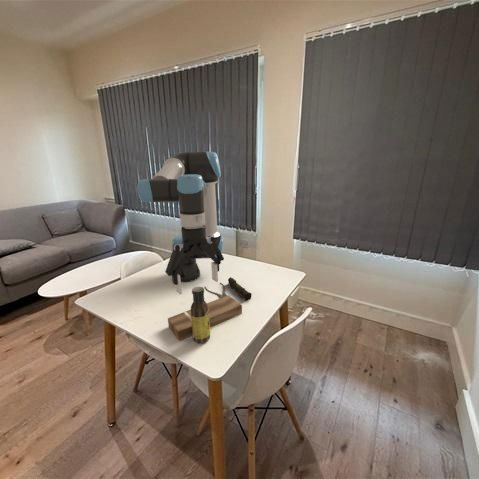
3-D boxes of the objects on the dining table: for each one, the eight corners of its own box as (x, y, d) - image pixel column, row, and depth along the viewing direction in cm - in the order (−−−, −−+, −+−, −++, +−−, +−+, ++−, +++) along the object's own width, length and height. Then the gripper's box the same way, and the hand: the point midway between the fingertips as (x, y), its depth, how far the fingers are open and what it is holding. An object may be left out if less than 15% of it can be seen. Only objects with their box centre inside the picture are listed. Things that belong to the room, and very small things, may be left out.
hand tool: (252, 299, 120) (252, 290, 118) (244, 302, 118) (244, 293, 117) (233, 283, 136) (233, 275, 134) (226, 284, 134) (226, 276, 133)
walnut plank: (168, 327, 101) (167, 318, 100) (228, 303, 117) (228, 295, 116) (179, 341, 94) (178, 331, 92) (242, 313, 109) (241, 304, 108)
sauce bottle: (213, 340, 94) (210, 291, 87) (196, 346, 91) (192, 295, 85) (207, 330, 99) (203, 283, 93) (190, 335, 96) (186, 287, 90)
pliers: (218, 281, 137) (243, 295, 122) (218, 282, 137) (243, 297, 122) (202, 287, 131) (226, 303, 116) (202, 288, 131) (226, 305, 116)
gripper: (158, 236, 72) (166, 303, 79) (232, 221, 86) (234, 279, 93) (149, 230, 78) (157, 293, 84) (220, 217, 92) (222, 272, 98)
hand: (197, 286), depth 89 cm, fingers open, 13 cm apart
